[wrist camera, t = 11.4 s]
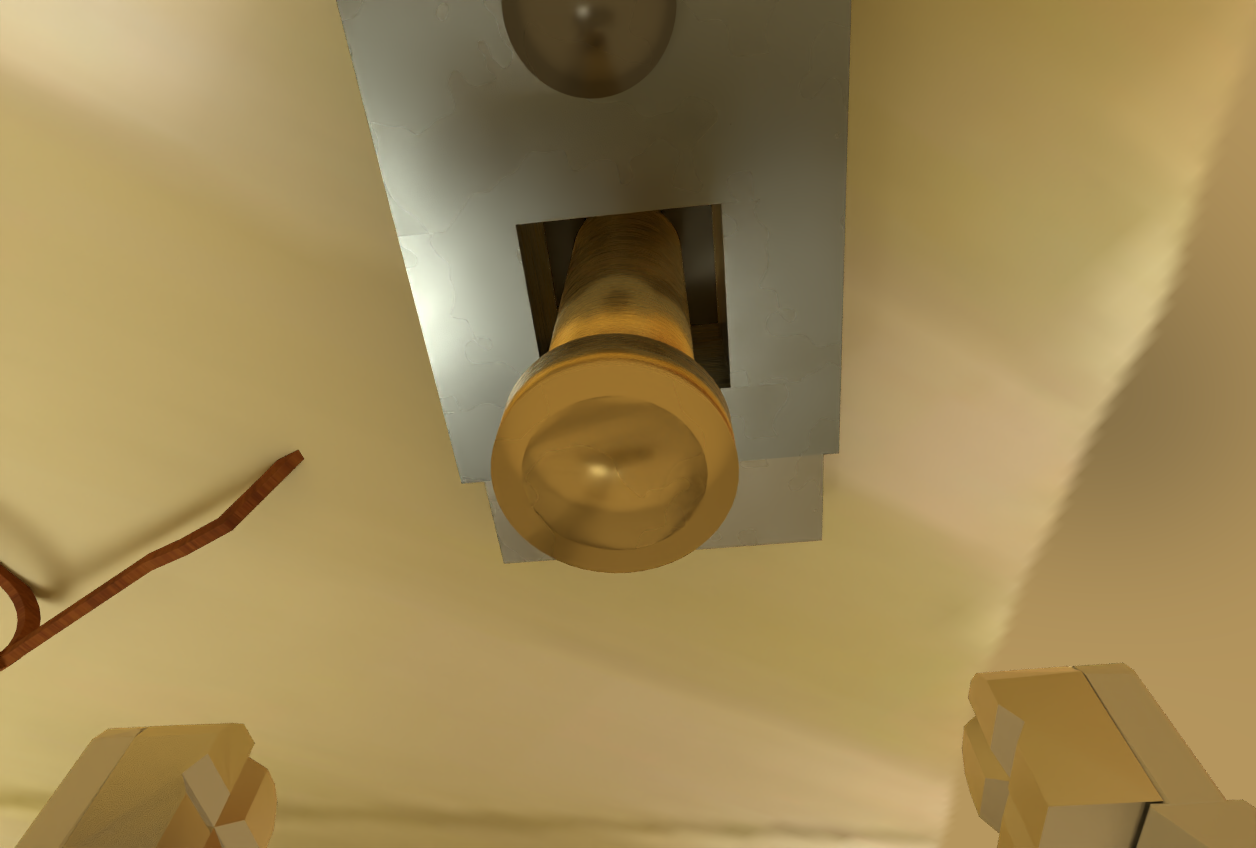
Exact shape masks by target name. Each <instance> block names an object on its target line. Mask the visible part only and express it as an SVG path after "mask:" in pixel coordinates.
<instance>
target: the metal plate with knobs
mask: <svg viewBox="0 0 1256 848" xmlns="http://www.w3.org/2000/svg"><path fill="white" fill-rule="evenodd" d="M336 1H337V5H338V9H339V13H340V17H341V20H342V24H343V28H344V32H345V36H346V40H347V44H348V47H349V51H350V55H351V59H352V63H353V67H354V71H355V74H356V78H357V82H358V86H359V90H360V94H361V98H362V101H363V105H364V109H365V113H366V117H367V121H368V125H369V128H370V132H371V136H372V140H373V144H374V148H375V152H376V155H377V159H378V163H379V167H380V171H381V175H382V178H383V182H384V186H385V190H386V194H387V198H388V202H389V205H390V209H391V213H392V217H393V221H394V225H395V229H396V232H397V236H398V240H399V244H400V248H401V252H402V256H403V259H404V263H405V267H406V271H407V275H408V279H409V283H410V286H411V290H412V294H413V298H414V302H415V306H416V310H417V313H418V317H419V321H420V325H421V329H422V333H423V337H424V340H425V344H426V348H427V352H428V356H429V360H430V364H431V367H432V371H433V375H434V379H435V383H436V387H437V391H438V394H439V398H440V402H441V406H442V410H443V414H444V418H445V421H446V425H447V429H448V433H449V437H450V441H451V445H452V448H453V452H454V456H455V460H456V464H457V468H458V472H459V475H460V479H461V483H475V482H484V483H485V487H486V491H487V495H488V499H489V503H490V508H491V512H492V516H493V520H494V524H495V528H496V532H497V536H498V541H499V545H500V549H501V553H502V557H503V561H504V564H506V563H519V562H533V561H547V560H556V559H554V558H552V557H550V556H548V555H546V554H545V553H543V552H541V551H540V550H538V549H537V548H535V547H534V546H532V545H531V544H530V543H529V542H528V541H526V540H525V539H524V538H523V537H522V536H521V535H520V534H519V533H518V532H517V531H516V530H515V529H514V527H513V526H512V525H511V524H510V523H509V521H508V520H507V518H506V517H505V515H504V514H503V512H502V510H501V508H500V506H499V504H498V502H497V499H496V496H495V493H494V490H493V486H492V479H491V456H492V450H493V445H494V442H495V439H496V435H497V432H498V429H499V426H500V422H501V419H502V416H503V412H504V409H505V406H506V403H507V400H508V397H509V395H510V393H511V391H512V389H513V387H514V385H515V384H516V382H517V381H518V380H519V378H520V377H521V375H522V374H523V373H524V372H525V371H526V370H527V369H528V368H529V367H530V366H531V365H532V364H533V363H534V362H535V361H536V360H538V359H539V358H540V357H541V356H543V355H544V354H546V353H547V352H549V348H550V343H551V339H552V335H553V331H554V327H555V323H556V318H557V314H558V310H557V304H556V298H555V292H554V286H553V280H552V274H551V268H550V262H549V256H548V250H547V244H546V238H545V231H544V225H543V222H546V221H555V220H565V219H575V218H584V217H594V216H604V215H613V214H623V213H633V212H642V211H652V210H662V209H671V208H681V207H691V206H700V205H710V204H711V206H712V223H713V241H714V259H715V276H716V294H717V311H718V323H714V324H704V325H693V326H690V327H691V336H692V344H693V352H694V360H695V361H696V362H697V363H698V364H699V365H701V366H702V367H703V368H704V369H705V370H706V371H707V373H708V374H709V375H710V376H711V377H712V378H713V379H714V381H715V382H716V384H717V386H718V387H719V389H720V390H721V392H722V394H723V396H724V399H725V401H726V403H727V406H728V410H729V413H730V417H731V422H732V428H733V433H734V439H735V444H736V449H737V455H738V463H739V482H738V487H737V493H736V496H735V499H734V502H733V505H732V507H731V509H730V511H729V513H728V515H727V517H726V519H725V520H724V521H723V523H722V524H721V526H720V527H719V528H718V530H717V531H716V532H715V533H714V534H713V535H712V536H711V537H710V538H709V539H708V540H707V541H706V542H705V543H703V544H702V545H701V546H700V547H698V548H697V549H711V548H724V547H738V546H752V545H765V544H779V543H793V542H806V541H820V540H822V512H823V454H834V453H839V427H840V391H841V354H842V318H843V282H844V245H845V209H846V173H847V137H848V100H849V64H850V28H851V0H336ZM697 549H696V550H697Z"/></svg>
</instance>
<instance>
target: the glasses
mask: <svg viewBox="0 0 1256 848" xmlns="http://www.w3.org/2000/svg"><path fill="white" fill-rule="evenodd" d="M303 460H304V458H303V456H302V455H301V453H300V451H299V450H297V451H295V452H293V453H291V454H289V455H287V456H285V457H283V458H281V459H279V460H277V461H276V462H275V463H274V464H273V465H272V466H271V467H270V468H269V469H268V470H267V471H266V472H265V473H264V474H263V475H262V476H261V477H260V478H259V479H258V480H257V481H256V482H255V483H254V484H253V485H252V486H251V487H250V488H249V489H248V490H247V491H246V492H245V493H244V494H243V495H242V496H241V497H240V498H239V499H237V500H236V501H235V502H234V503H233V504H232V505H231V506H230V507H229V508H228V509H227V510H226V511H225V512H224V513H223V514H222V515H221V516H220V517H219V518H218V519H216V520H214V521H212V522H210V523H209V524H207V525H205V526H203V527H201V528H200V529H198V530H196V531H194V532H192V533H191V534H189V535H187V536H185V537H183V538H182V539H180V540H177V541H175V542H173V543H171V544H169V545H167V546H164V547H162V548H160V549H158V550H156V551H153V552H151V553H149V554H148V555H146V556H145V557H143V558H142V559H140V560H139V561H137V562H136V563H134V564H133V565H131V566H130V567H128V568H127V569H125V570H124V571H122V572H121V573H119V574H118V575H116V576H115V577H113V578H112V579H110V580H109V581H107V582H106V583H104V584H103V585H101V586H100V587H98V588H97V589H95V590H94V591H92V592H91V593H89V594H88V595H86V596H85V597H83V598H82V599H80V600H79V601H77V602H76V603H74V604H73V605H71V606H70V607H68V608H67V609H65V610H64V611H62V612H61V613H59V614H58V615H56V616H55V617H54V618H52V619H51V620H49V621H48V622H46V623H45V624H43V625H42V626H40V619H41V617H40V609H39V605H38V603H37V600H36V597H35V595H34V594H33V592H32V590H31V589H30V587H29V586H27V585H26V584H25V583H24V582H22V581H21V580H20V579H18V578H17V577H16V576H15V575H13V574H12V573H11V572H9V571H8V570H7V569H5V568H4V567H3V566H2V565H0V586H1V587H2V588H3V589H4V590H5V592H6V593H7V594H8V595H9V597H10V598H11V600H12V602H13V603H14V606H15V609H16V611H17V618H18V622H17V629H16V632H15V634H14V637H13V639H12V640H11V642H10V643H9V645H8V646H7V647H6V648H5V649H4V650H3V651H1V652H0V671H2V670H4V669H5V668H7V667H8V666H10V665H11V664H13V663H14V662H16V661H17V660H19V659H20V658H21V657H22V656H24V655H25V654H27V653H28V652H30V651H31V650H33V649H34V648H36V647H37V646H39V645H40V644H42V643H43V642H45V641H46V640H48V639H49V638H51V637H52V636H54V635H55V634H57V633H58V632H60V631H61V630H63V629H64V628H66V627H67V626H69V625H70V624H72V623H73V622H75V621H76V620H78V619H79V618H81V617H82V616H84V615H85V614H87V613H88V612H90V611H91V610H93V609H94V608H96V607H97V606H99V605H100V604H102V603H103V602H105V601H106V600H108V599H109V598H111V597H112V596H114V595H115V594H117V593H118V592H120V591H121V590H123V589H124V588H126V587H127V586H129V585H130V584H132V583H133V582H135V581H136V580H138V579H139V578H141V577H142V576H144V575H145V574H147V573H148V572H150V571H151V570H154V569H156V568H158V567H161V566H163V565H165V564H168V563H170V562H172V561H174V560H177V559H179V558H181V557H184V556H186V555H188V554H190V553H192V552H193V551H195V550H197V549H199V548H201V547H203V546H204V545H206V544H208V543H210V542H212V541H214V540H215V539H217V538H219V537H221V536H223V535H225V534H226V533H228V532H230V531H232V530H233V529H234V528H235V527H236V526H237V525H238V524H239V523H240V522H241V521H242V520H243V519H244V518H245V517H246V516H247V515H248V514H249V513H250V512H251V511H252V510H253V509H254V508H255V507H256V506H257V505H258V504H259V503H260V502H261V501H262V500H263V499H264V498H265V497H266V496H267V495H268V494H269V493H270V492H271V491H272V490H273V489H274V488H275V487H276V486H277V485H278V484H279V483H280V482H281V481H282V480H283V479H284V478H285V477H286V476H287V475H288V474H289V473H290V472H291V471H292V470H293V469H294V468H295V467H296V466H297V465H298V464H300V463H301V462H302V461H303Z"/></svg>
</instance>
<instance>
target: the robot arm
mask: <svg viewBox="0 0 1256 848" xmlns="http://www.w3.org/2000/svg"><path fill="white" fill-rule="evenodd" d="M968 699H969V701H970V704H971V706H972V708H973V711H974V713H975V715H976V716H975V717H974V718H973V719H971V720H970V721H969V722H968V723H967V724H966V725H965V726H964V731H963V741H962V754H963V762H964V771H965V776H966V780H967V783H968V787H969V791H970V794H971V797H972V799H973V802H974V805H975V807H976V810H977V813H978V815H979V817H980V818H981V819H983V820H984V821H985V822H986V823H987V824H988V825H990V826H991V827H992V828H993V829H995V830H996V831H997V832H998V833H999V840H998V845H997V848H1256V808H1255V807H1254V806H1252V805H1251V804H1249V803H1248V802H1246V801H1244V800H1226V799H1225V797H1224V796H1223V794H1222V793H1221V792H1220V790H1219V789H1218V787H1217V786H1216V785H1215V783H1214V782H1213V780H1212V779H1211V777H1210V776H1209V775H1208V773H1207V772H1206V770H1205V769H1204V768H1203V766H1202V765H1201V763H1200V762H1199V761H1198V759H1197V758H1196V756H1195V755H1194V754H1193V752H1192V751H1191V749H1190V748H1189V747H1188V745H1187V744H1186V742H1185V741H1184V740H1183V738H1182V737H1181V736H1180V734H1179V733H1178V731H1177V730H1176V728H1175V727H1174V726H1173V724H1172V723H1171V721H1170V720H1169V719H1168V717H1167V716H1166V714H1165V713H1164V712H1163V710H1162V709H1161V708H1160V706H1159V705H1158V703H1157V702H1156V700H1155V699H1154V698H1153V696H1152V695H1151V694H1150V692H1149V691H1148V689H1147V688H1146V686H1145V685H1144V684H1143V682H1142V681H1141V679H1140V678H1139V677H1138V675H1137V674H1136V672H1135V671H1134V670H1133V669H1132V668H1130V667H1129V666H1127V665H1126V664H1124V663H1111V664H1097V665H1082V666H1073V667H1068V666H1060V667H1048V668H1035V669H1022V670H1009V671H996V672H983V673H976V674H975V675H974V677H973V678H972V680H971V682H970V688H969V695H968ZM254 744H255V743H254V741H253V739H252V737H251V736H250V734H249V732H248V730H247V729H246V727H245V725H244V724H237V723H222V724H195V725H169V726H149V727H132V728H111V729H107V730H106V731H104V732H103V733H101V734H100V735H98V736H97V737H95V738H94V739H92V741H91V742H90V743H89V745H88V746H87V747H86V749H85V750H84V752H83V753H82V754H81V756H80V757H79V759H78V760H77V761H76V763H75V764H74V766H73V767H72V768H71V770H70V771H69V773H68V774H67V775H66V777H65V778H64V780H63V781H62V782H61V784H60V785H59V787H58V788H57V789H56V791H55V792H54V794H53V795H52V796H51V798H50V799H49V801H48V802H47V803H46V805H45V806H44V808H43V809H42V810H41V812H40V813H39V815H38V816H37V817H36V819H35V820H34V822H33V823H32V824H31V826H30V827H29V828H28V830H27V831H26V833H25V834H24V835H23V837H22V838H21V840H20V841H19V842H18V844H17V845H16V847H15V848H267V846H268V843H269V841H270V838H271V836H272V833H273V831H274V824H275V817H276V810H277V803H278V802H277V796H276V789H275V783H274V781H273V779H272V777H271V775H270V773H269V771H268V769H267V768H265V767H264V766H262V765H261V764H259V763H257V762H256V761H254V760H253V759H251V758H250V757H248V756H249V754H250V752H251V750H252V748H253V746H254Z"/></svg>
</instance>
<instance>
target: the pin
mask: <svg viewBox="0 0 1256 848" xmlns="http://www.w3.org/2000/svg"><path fill="white" fill-rule="evenodd" d="M491 479H492V486H493V490H494V493H495V496H496V499H497V502H498V504H499V506H500V508H501V510H502V512H503V514H504V515H505V517H506V518H507V520H508V521H509V523H510V524H511V525H512V526H513V527H514V529H515V530H516V531H517V532H518V533H519V534H520V535H521V536H522V537H523V538H524V539H525V540H526V541H528V542H529V543H530V544H531V545H532V546H534V547H535V548H537V549H538V550H540V551H541V552H543V553H545V554H546V555H548V556H550V557H552V558H554V559H556V560H558V561H561V562H563V563H566V564H568V565H571V566H575V567H578V568H581V569H586V570H591V571H597V572H608V573H629V572H637V571H644V570H648V569H653V568H657V567H660V566H663V565H666V564H669V563H672V562H674V561H676V560H678V559H680V558H682V557H684V556H686V555H688V554H689V553H691V552H692V551H694V550H696V549H697V548H698V547H700V546H701V545H702V544H703V543H705V542H706V541H707V540H708V539H709V538H710V537H711V536H712V535H713V534H714V533H715V532H716V531H717V530H718V528H719V527H720V526H721V524H722V523H723V521H724V520H725V519H726V517H727V515H728V513H729V511H730V509H731V507H732V505H733V502H734V499H735V496H736V493H737V487H738V482H739V463H738V455H737V449H736V444H735V439H734V433H733V428H732V422H731V417H730V413H729V410H728V406H727V403H726V401H725V399H724V396H723V394H722V392H721V390H720V389H719V387H718V386H717V384H716V382H715V381H714V379H713V378H712V377H711V376H710V375H709V374H708V373H707V371H706V370H705V369H704V368H703V367H702V366H701V365H699V364H698V363H697V362H696V361H695V360H694V352H693V344H692V336H691V327H690V319H689V311H688V302H687V294H686V286H685V277H684V269H683V261H682V253H681V245H680V241H679V237H678V234H677V232H676V230H675V228H674V227H673V225H672V223H671V222H670V221H669V220H668V219H667V218H666V217H665V216H664V215H663V214H662V213H661V212H659V211H658V210H652V211H642V212H633V213H623V214H613V215H604V216H594V217H588V218H587V219H586V220H585V222H584V223H583V224H582V226H581V227H580V229H579V231H578V234H577V236H576V239H575V243H574V248H573V252H572V256H571V260H570V264H569V268H568V273H567V277H566V281H565V285H564V289H563V293H562V298H561V302H560V306H559V310H558V314H557V318H556V323H555V327H554V331H553V335H552V339H551V343H550V348H549V352H547V353H546V354H544V355H543V356H541V357H540V358H539V359H538V360H536V361H535V362H534V363H533V364H532V365H531V366H530V367H529V368H528V369H527V370H526V371H525V372H524V373H523V374H522V375H521V377H520V378H519V380H518V381H517V382H516V384H515V385H514V387H513V389H512V391H511V393H510V395H509V397H508V400H507V403H506V406H505V409H504V412H503V416H502V419H501V422H500V426H499V429H498V432H497V435H496V439H495V442H494V445H493V450H492V456H491Z"/></svg>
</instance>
